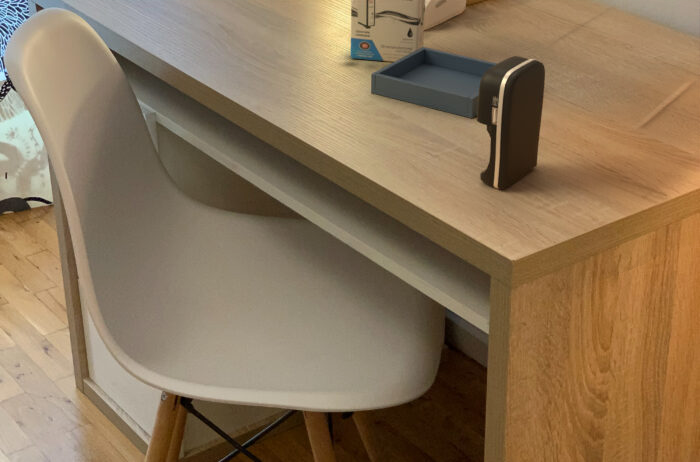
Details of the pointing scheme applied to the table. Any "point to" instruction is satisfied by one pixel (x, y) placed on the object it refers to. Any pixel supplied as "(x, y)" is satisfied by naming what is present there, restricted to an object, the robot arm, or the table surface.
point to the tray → (433, 80)
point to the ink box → (386, 28)
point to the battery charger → (511, 118)
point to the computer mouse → (441, 11)
